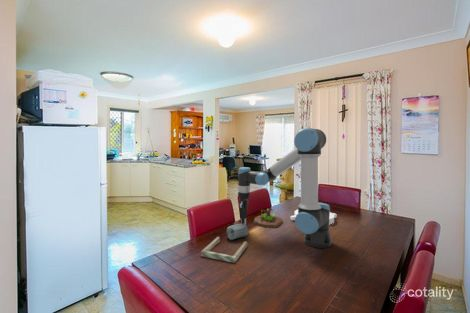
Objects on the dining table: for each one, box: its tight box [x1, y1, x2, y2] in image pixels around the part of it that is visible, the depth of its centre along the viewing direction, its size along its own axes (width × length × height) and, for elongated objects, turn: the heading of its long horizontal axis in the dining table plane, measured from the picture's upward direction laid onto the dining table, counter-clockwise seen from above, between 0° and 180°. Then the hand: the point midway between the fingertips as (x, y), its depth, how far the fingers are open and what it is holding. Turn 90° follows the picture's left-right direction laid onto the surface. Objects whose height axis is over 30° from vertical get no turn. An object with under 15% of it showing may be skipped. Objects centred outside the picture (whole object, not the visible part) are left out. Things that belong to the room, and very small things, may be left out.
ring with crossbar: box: [289, 208, 338, 226], centre depth 181 cm, size 28×28×5 cm
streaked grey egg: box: [226, 222, 249, 241], centre depth 146 cm, size 14×10×10 cm
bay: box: [200, 236, 248, 264], centre depth 129 cm, size 18×20×2 cm
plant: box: [253, 207, 284, 229], centre depth 173 cm, size 20×20×11 cm
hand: (243, 228), depth 157 cm, fingers closed
